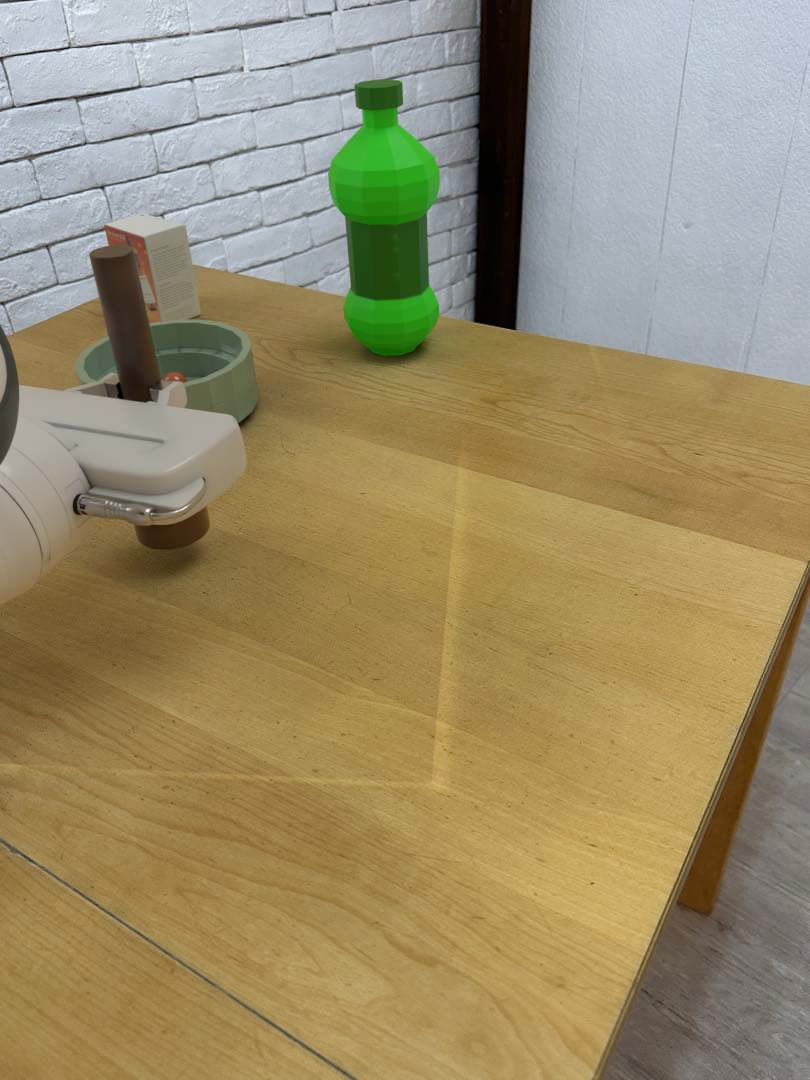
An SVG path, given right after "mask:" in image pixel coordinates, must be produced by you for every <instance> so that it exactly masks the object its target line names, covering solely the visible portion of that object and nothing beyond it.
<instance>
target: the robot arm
mask: <svg viewBox="0 0 810 1080" xmlns="http://www.w3.org/2000/svg"><path fill="white" fill-rule="evenodd" d="M19 381H20V380H19V375H18V369H17V364H16V359H15V356H14V352H13V349H12V346H11V343H10V341H9V339H8V336H7V335H6V332H5V330H4V328H3V327H2V325H1V324H0V606H2V605H3V604H6V603H7V602H9V601H11V600H13V599H16V598H18V597H20V596H22V595H23V594H25V593H26V592H28V591H29V590H30V589H32V588H33V587H34V586H35V585H36V584H37V583H38V582H39V581H41V580H42V579H43V578H44V577H46V575H47V574H48V573H49V572H50V571H51V570H53V569H54V568H55V567H56V566H57V565H58V564H59V563H61V561H62V560H63V559H64V558H66V557H67V556H68V555H69V554H70V553H71V552H72V551H73V550H74V549H75V548H77V547H78V546H79V545H80V544H81V543H83V542H84V540H85V539H86V538H88V536H89V535H90V534H91V531H92V529H93V527H94V524H95V520H96V518H99V519H106V520H119V521H123V522H127V523H129V524H132V525H134V524H135V525H141V526H149V525H153V524H154V525H168V524H174V523H177V522H180V521H183V520H185V519H187V518H189V517H191V516H192V515H194V514H196V513H197V512H199V511H200V510H202V509H203V508H204V507H206V506H207V507H208V506H209V505H210V504H211V503H213V502H214V501H215V500H217V499H218V498H219V497H220V496H222V495H223V494H224V493H225V492H227V491H228V490H229V489H230V488H231V487H232V486H234V484H235V483H237V482H238V481H239V480H240V479H241V478H242V477H243V476H244V474H245V473H246V470H247V452H246V446H245V442H244V437H243V433H242V430H241V427H240V425H239V423H237V420H236V419H235V418H234V417H233V416H231V415H228V414H222V413H215V412H208V411H200V410H193V409H186V408H184V407H185V406H186V404H187V395H186V390H185V386H184V383H182V382H178V381H170V380H160V381H159V383H158V384H155V385H154V386H152V387H151V388H150V389H149V390H150V395H151V398H152V400H153V401H154V402H152V401H149V402H147V403H144V402H137V401H130V400H124V399H123V395H122V391H121V387H120V382H119V378H118V374H117V373H109V374H108V375H106V376H105V377H103V378H102V379H100V380H99V381H98V382H92V383H88V384H84V385H80V386H78V385H77V386H73V387H69V388H65V389H64V390H58V389H51V388H44V387H37V386H30V385H22V384H20V382H19Z"/></svg>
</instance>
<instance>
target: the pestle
mask: <svg viewBox="0 0 810 1080" xmlns="http://www.w3.org/2000/svg"><path fill="white" fill-rule="evenodd" d="M88 256H89V260H90V266H91V270H92V273H93V277H94V281H95V286H96V290H97V293H98V298H99V302H100V306H101V311H102V315H103V320H104V324H105V328H106V331H107V336H109V341H110V345H111V349H112V353H113V357H114V362H115V366H116V370H117V374H118V378H119V382H120V387H121V391H122V395H123V399H124V400H130V401H137V402H144V403H147V402H149V401H152V402H154V401H153V400H152V398H151V395H150V390H149V389H150V388H151V387H152V386H154V385H155V384H158V383H159V381H160V380H161V377H160V372H159V367H158V362H157V357H156V353H155V348H154V343H153V338H152V334H151V329H150V324H149V319H148V315H147V310H146V305H145V300H144V296H143V291H142V286H141V281H140V277H139V272H138V267H137V262H136V257H135V253H134V249H133V248H132V247H131V246H127V245H111V246H109V245H105V246H100V247H98V248H95V249H93V250H91V251H90V252H89V253H88ZM133 526H134V527H133V528H134V531H135V536H136V539H137V541H138V542H139V543H140V544H141V545H142V546H144V547H146V548H149V549H152V550H156V551H157V550H158V551H169V550H170V551H171V550H176V549H181V548H185V547H187V546H190V545H193V544H195V543H196V542H198V541H200V540H201V539H203V538H204V537H205V536H206V534H207V533H208V532H209V530H210V527H211V521H210V516H209V511H208V505H207V506H206V507H204V508H203V509H202V510H200V511H199V512H197V513H196V514H194V515H192V516H191V517H189V518H187V519H185V520H183V521H180V522H177V523H174V524H168V525H154V524H153V525H149V526H141V525H135V524H133Z"/></svg>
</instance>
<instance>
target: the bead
mask: <svg viewBox="0 0 810 1080" xmlns="http://www.w3.org/2000/svg"><path fill="white" fill-rule="evenodd" d="M163 380H170V381H178V382H182V383H185V382H187V379H186V377H185V376H184V375H183V374H181V373H179V372H170V373H168V374H166V375H165V376H164V378H163Z"/></svg>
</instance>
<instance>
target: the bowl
mask: <svg viewBox="0 0 810 1080" xmlns="http://www.w3.org/2000/svg"><path fill="white" fill-rule="evenodd" d="M149 324H150V329H151V334H152V338H153V343H154V348H155V353H156V357H157V362H158V367H159V372H160V377H161V380H163V378H164V376H165V375H166V374H168V373H170V372H179V373H181V374H183V375H184V376H185V377H186V379H187V382H185V383H184V386H185V390H186V395H187V404H186V406H185V407H184V408H186V409H193V410H200V411H208V412H215V413H222V414H228V415H231V416H233V417H234V418H235V419H236V420H237V423H238V424H240V423H241V422H242V421H243V420H244V419H246V418H247V417H248V416H249V415H251V414H252V412H254V409H256V406H257V404H258V401H259V399H260V393H259V387H258V381H257V375H256V369H255V368H256V367H255V362H254V361H255V360H254V355H253V354H254V353H253V348H252V344H251V339H250V336H249V335H248V334H247V333H245V332H244V331H243V330H242V329H241V328H238V327H236V326H234V325H231V324H228V323H225V322H221V321H216V320H215V321H214V320H208V319H207V320H206V319H188V320H171V321H163V322H155V323H149ZM109 373H117V370H116V366H115V362H114V357H113V353H112V349H111V345H110V341H109V336H108V335H107V336H105V337H102V338H101V339H99V340H97V341H96V342H94V343H92V344H90V345H89V346H87V347H86V348H85V349H84V350H83V351H82V352H81V353H80V354H79V356H78V357H76V359H75V364H74V375H75V378H76V381H77V386H80V385H84V384H88V383H92V382H98V381H99V380H100V379H102V378H103V377H105V376H106V375H108V374H109Z"/></svg>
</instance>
